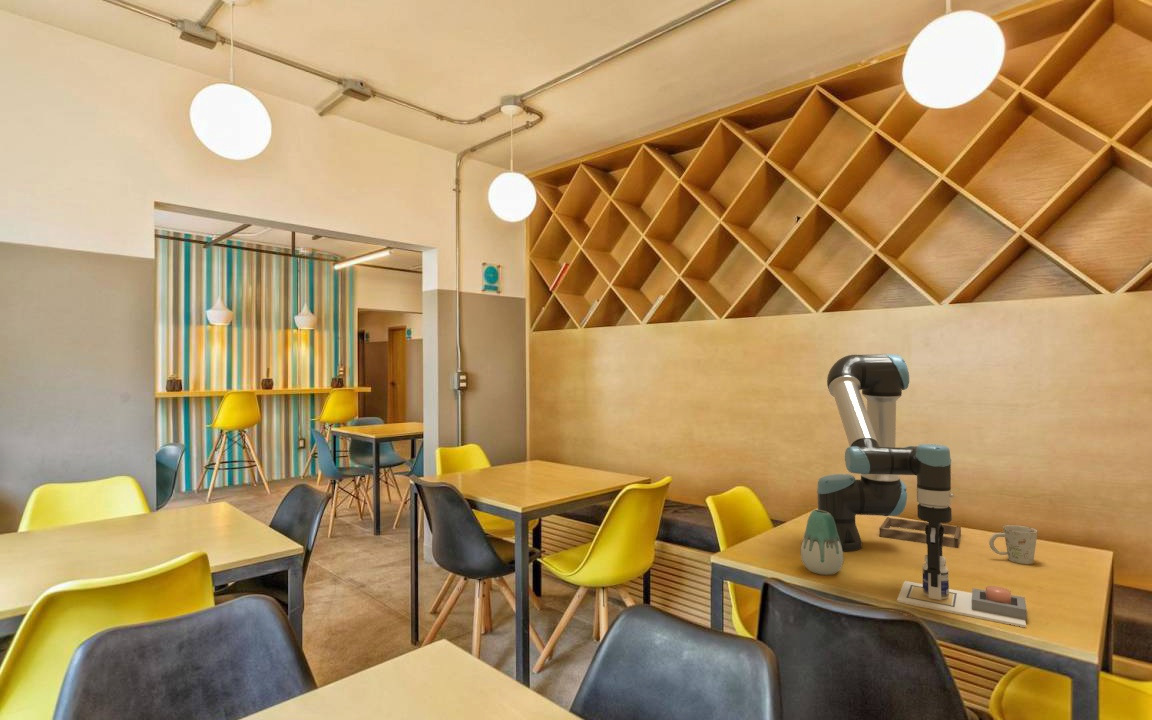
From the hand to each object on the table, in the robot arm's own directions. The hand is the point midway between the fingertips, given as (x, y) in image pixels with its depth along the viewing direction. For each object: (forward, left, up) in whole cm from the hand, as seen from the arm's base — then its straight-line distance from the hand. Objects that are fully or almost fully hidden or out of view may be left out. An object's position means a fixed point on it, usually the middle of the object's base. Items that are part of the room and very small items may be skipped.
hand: (935, 594), depth 149 cm
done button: (+13, 0, +1) cm, 13 cm away
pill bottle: (0, 0, -1) cm, 1 cm away
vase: (-29, +5, -1) cm, 29 cm away
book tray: (-9, +63, -1) cm, 64 cm away
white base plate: (+5, 0, -1) cm, 5 cm away
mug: (+17, +48, -1) cm, 51 cm away
